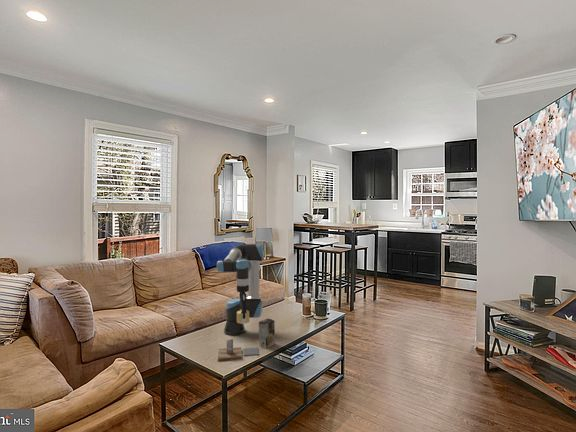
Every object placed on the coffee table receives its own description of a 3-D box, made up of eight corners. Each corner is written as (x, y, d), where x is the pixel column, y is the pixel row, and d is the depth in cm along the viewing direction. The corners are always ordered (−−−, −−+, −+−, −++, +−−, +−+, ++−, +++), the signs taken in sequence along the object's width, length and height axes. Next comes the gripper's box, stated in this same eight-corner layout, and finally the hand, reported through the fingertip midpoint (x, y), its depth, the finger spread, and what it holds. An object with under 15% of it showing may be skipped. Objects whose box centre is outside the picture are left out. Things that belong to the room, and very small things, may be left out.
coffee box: (268, 341, 229) (267, 318, 228) (275, 344, 225) (274, 320, 224) (258, 346, 222) (258, 321, 221) (265, 348, 217) (265, 323, 217)
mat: (243, 349, 217) (243, 348, 217) (257, 348, 218) (257, 347, 218) (244, 356, 207) (244, 355, 207) (258, 354, 208) (258, 353, 208)
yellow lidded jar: (248, 319, 215) (248, 308, 215) (249, 323, 208) (249, 312, 207) (236, 320, 213) (236, 309, 213) (237, 324, 206) (237, 313, 206)
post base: (218, 351, 214) (218, 336, 214) (241, 349, 216) (240, 334, 216) (217, 361, 200) (217, 345, 200) (241, 359, 203) (241, 343, 202)
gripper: (235, 281, 219) (235, 316, 220) (238, 289, 199) (238, 327, 200) (247, 281, 221) (247, 315, 221) (250, 288, 201) (251, 326, 201)
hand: (243, 321), depth 210 cm, fingers closed on yellow lidded jar, 7 cm apart
